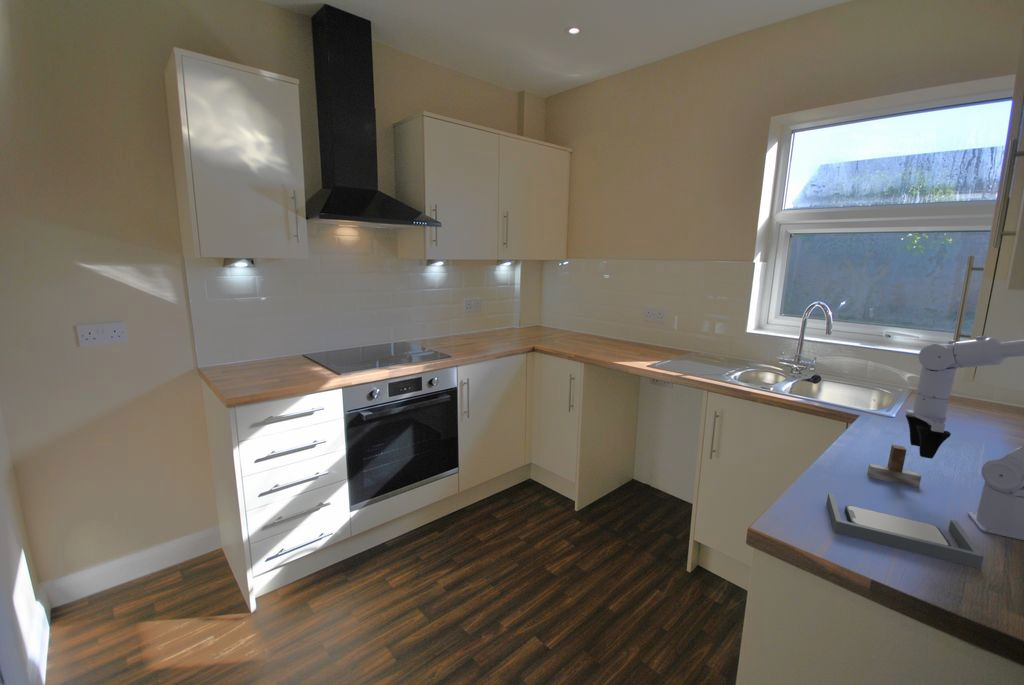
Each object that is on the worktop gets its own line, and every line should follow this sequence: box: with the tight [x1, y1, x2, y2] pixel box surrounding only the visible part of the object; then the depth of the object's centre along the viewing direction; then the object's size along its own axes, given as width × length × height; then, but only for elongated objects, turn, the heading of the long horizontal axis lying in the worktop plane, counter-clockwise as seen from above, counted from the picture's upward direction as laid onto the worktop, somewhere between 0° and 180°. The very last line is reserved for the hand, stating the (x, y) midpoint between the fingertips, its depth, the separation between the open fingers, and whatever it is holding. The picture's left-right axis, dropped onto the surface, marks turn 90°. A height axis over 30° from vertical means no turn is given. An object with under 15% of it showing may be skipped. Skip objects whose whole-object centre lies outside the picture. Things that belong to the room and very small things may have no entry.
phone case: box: [844, 505, 952, 546], centre depth 96 cm, size 9×2×16 cm
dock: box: [826, 492, 984, 570], centre depth 95 cm, size 22×13×2 cm, turn 62°
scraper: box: [866, 444, 922, 488], centre depth 117 cm, size 10×2×9 cm, turn 62°
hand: (921, 451), depth 110 cm, fingers open, 7 cm apart
